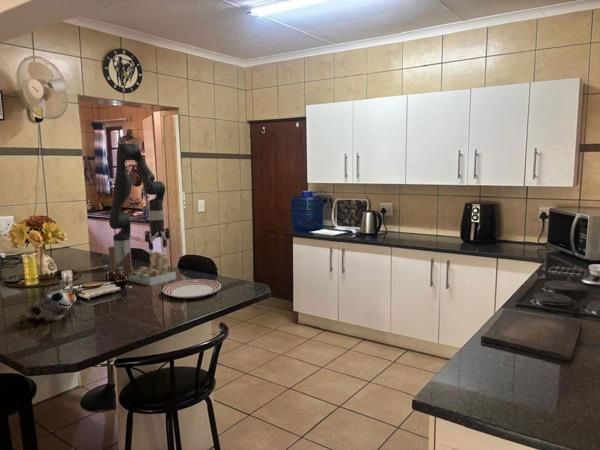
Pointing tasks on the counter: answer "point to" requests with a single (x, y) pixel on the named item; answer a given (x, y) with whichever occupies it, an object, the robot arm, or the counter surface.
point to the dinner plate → (192, 288)
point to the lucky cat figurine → (52, 306)
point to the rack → (152, 278)
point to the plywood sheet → (159, 262)
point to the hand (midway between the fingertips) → (158, 248)
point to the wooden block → (124, 262)
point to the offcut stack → (147, 272)
